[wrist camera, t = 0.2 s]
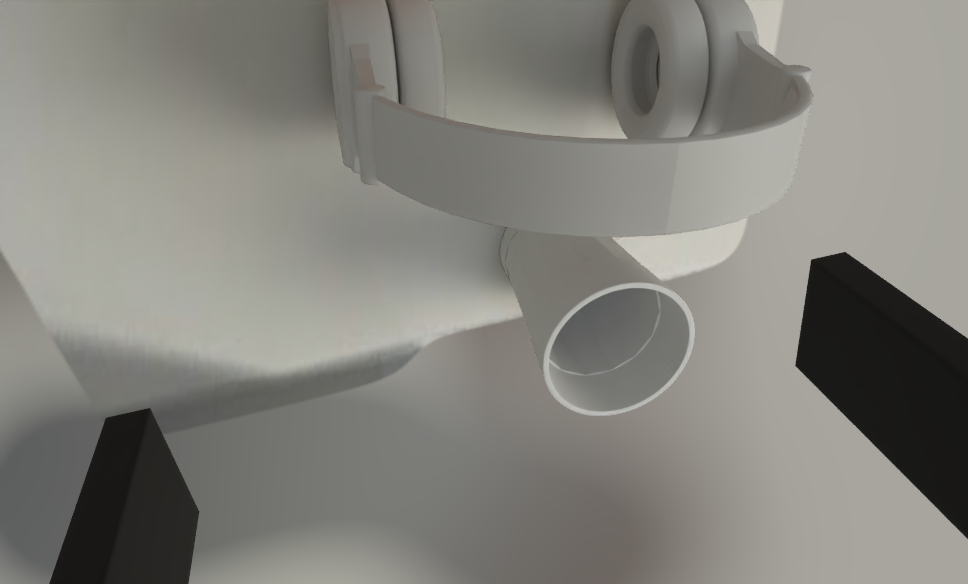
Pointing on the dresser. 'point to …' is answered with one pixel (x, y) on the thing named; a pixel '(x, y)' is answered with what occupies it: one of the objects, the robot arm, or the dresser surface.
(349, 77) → the headphones
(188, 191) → the dresser surface
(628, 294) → the cup
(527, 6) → the dresser surface
